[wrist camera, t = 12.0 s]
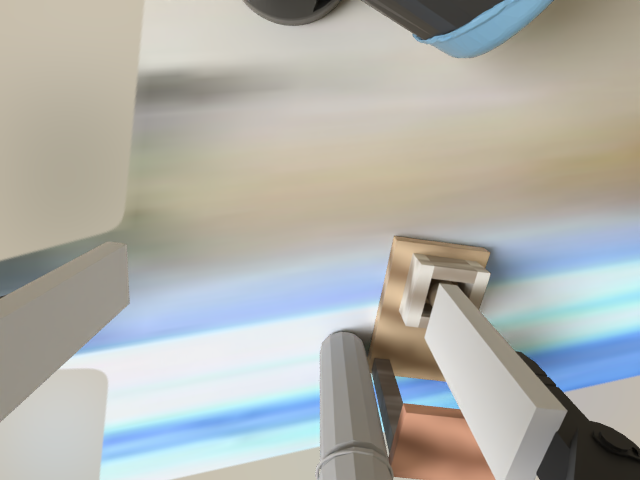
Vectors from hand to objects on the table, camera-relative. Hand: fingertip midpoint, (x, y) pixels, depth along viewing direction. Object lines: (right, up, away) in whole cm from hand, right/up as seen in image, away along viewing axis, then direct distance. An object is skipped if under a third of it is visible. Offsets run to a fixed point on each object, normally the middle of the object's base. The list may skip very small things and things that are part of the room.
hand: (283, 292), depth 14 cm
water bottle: (+5, -16, +39) cm, 42 cm away
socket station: (+17, -8, +36) cm, 41 cm away
